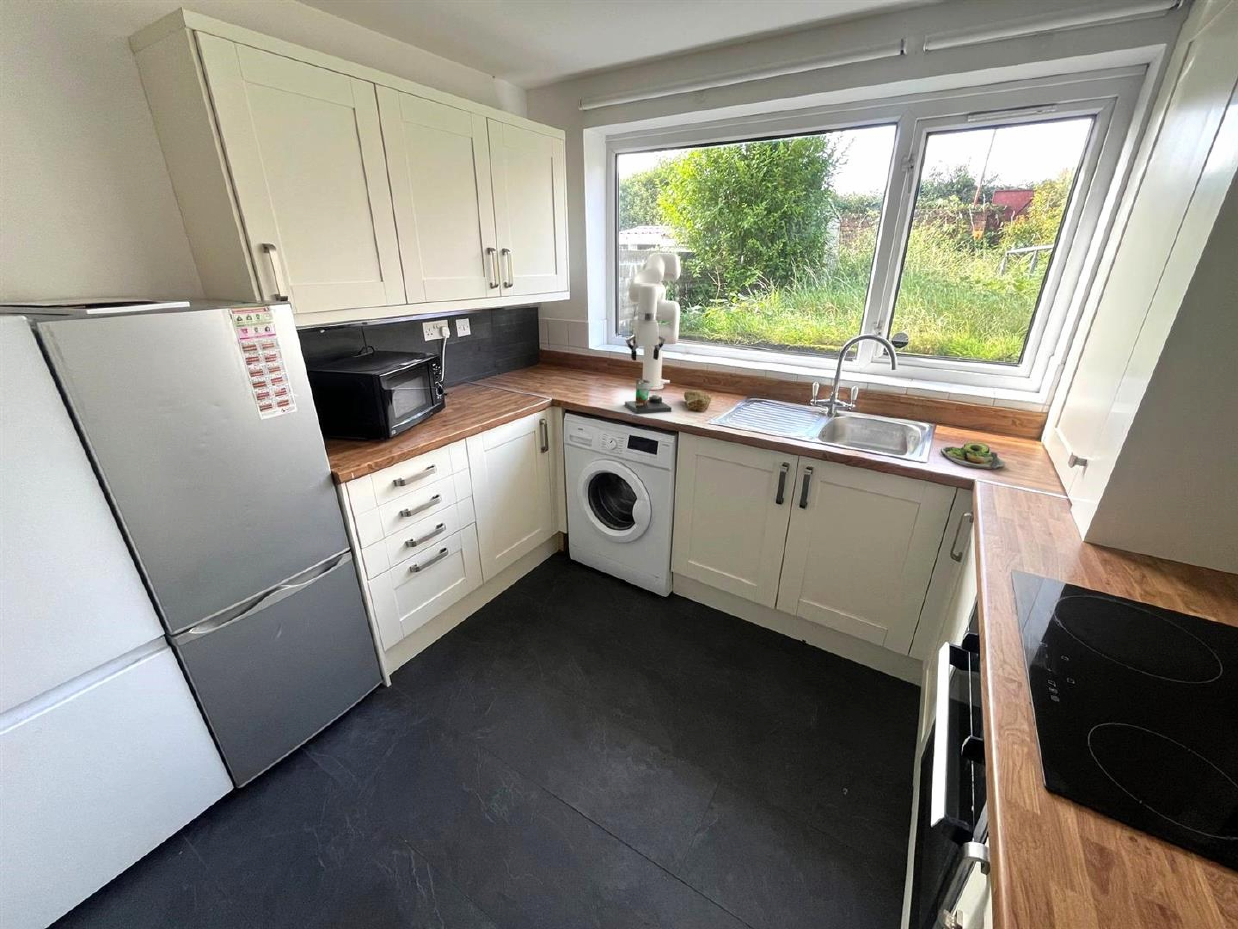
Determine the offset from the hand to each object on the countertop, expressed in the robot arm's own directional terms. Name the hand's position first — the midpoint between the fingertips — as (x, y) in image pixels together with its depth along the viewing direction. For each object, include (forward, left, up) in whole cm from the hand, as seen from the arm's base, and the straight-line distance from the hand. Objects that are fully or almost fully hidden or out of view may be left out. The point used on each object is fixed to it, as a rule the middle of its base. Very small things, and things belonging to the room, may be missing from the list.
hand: (644, 359), depth 208 cm
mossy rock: (-25, +1, -21) cm, 33 cm away
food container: (0, 0, -19) cm, 19 cm away
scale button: (-8, -4, -18) cm, 20 cm away
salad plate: (-84, +86, -21) cm, 123 cm away
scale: (-2, 0, -21) cm, 21 cm away
